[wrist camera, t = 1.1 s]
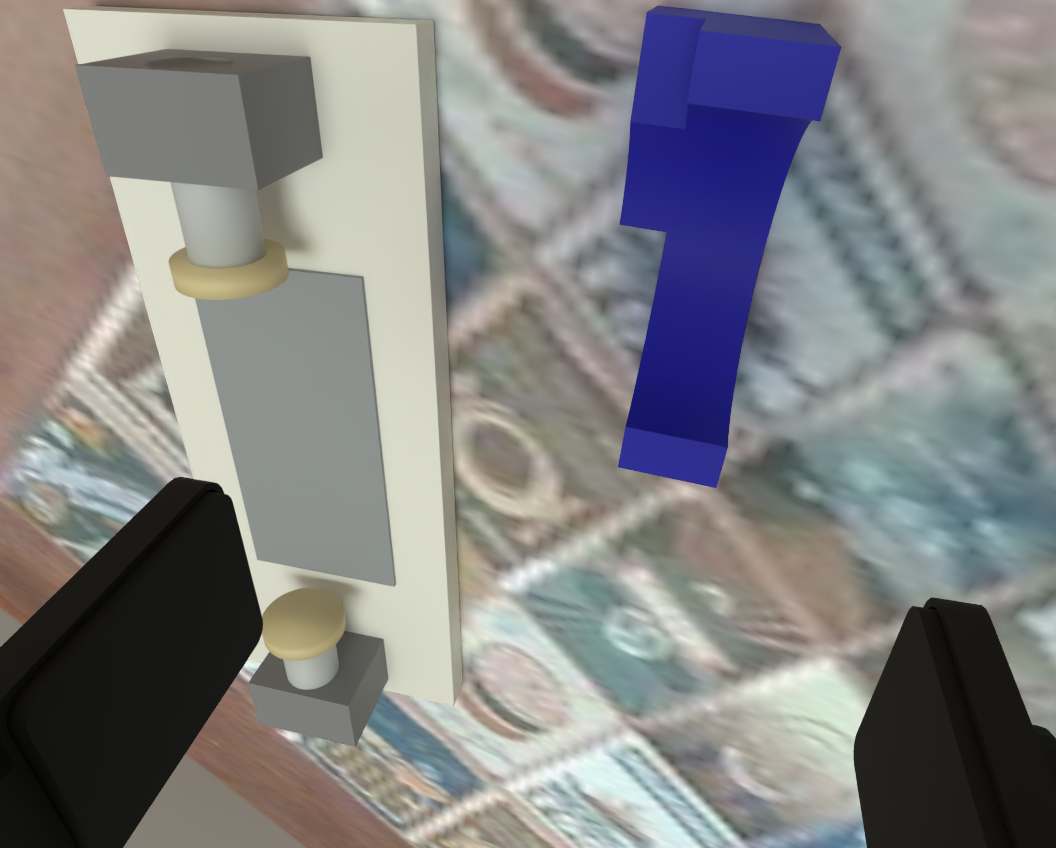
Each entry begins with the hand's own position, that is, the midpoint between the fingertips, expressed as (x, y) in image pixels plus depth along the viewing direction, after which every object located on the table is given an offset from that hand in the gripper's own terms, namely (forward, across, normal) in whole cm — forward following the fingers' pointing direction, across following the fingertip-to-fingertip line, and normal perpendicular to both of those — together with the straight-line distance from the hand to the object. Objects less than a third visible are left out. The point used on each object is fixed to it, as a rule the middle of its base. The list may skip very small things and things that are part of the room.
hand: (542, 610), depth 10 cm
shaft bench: (+18, +13, +10) cm, 24 cm away
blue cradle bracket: (+18, -2, 0) cm, 18 cm away
